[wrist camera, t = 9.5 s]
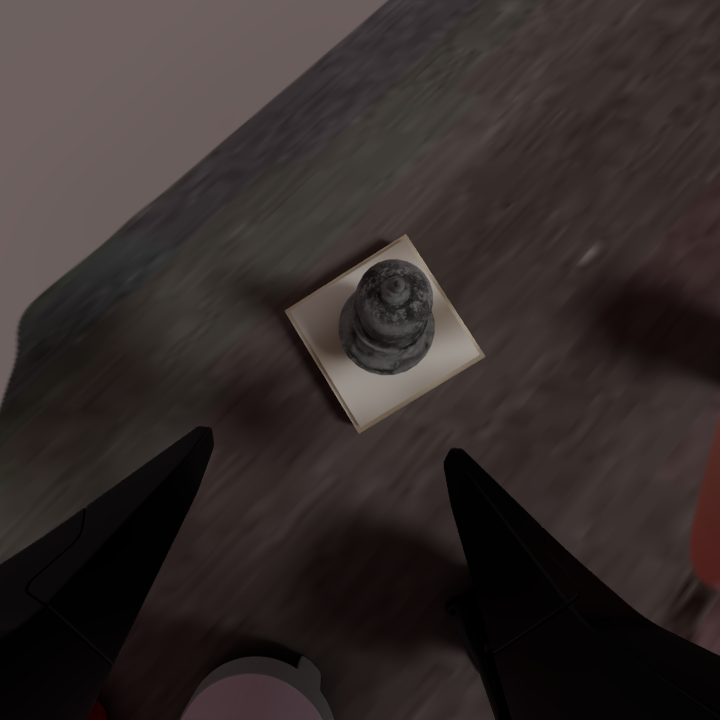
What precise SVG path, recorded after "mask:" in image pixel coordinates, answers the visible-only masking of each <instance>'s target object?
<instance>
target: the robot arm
mask: <svg viewBox="0 0 720 720" xmlns="http://www.w3.org/2000/svg"><path fill="white" fill-rule="evenodd" d="M213 447H214V440H213V434H212V429H211V428H210V427H202V426H199V427H197V428H195V429H194V430H192V431H191V432H189V433H188V434H187V435H185V436H184V437H182V438H181V439H180V440H178V441H177V442H175V443H174V444H173V445H171V446H170V447H168V448H167V449H166V450H164V451H163V452H161V453H160V454H159V455H157V456H156V457H154V458H153V459H152V460H150V461H149V462H147V463H146V464H145V465H143V466H142V467H141V468H139V469H138V470H136V471H135V472H134V473H132V474H131V475H129V476H128V477H127V478H125V479H124V480H122V481H121V482H120V483H118V484H117V485H115V486H114V487H113V488H111V489H110V490H108V491H107V492H106V493H104V494H103V495H101V496H100V497H99V498H97V499H96V500H94V501H93V502H92V503H90V504H89V505H87V507H86V508H83V509H82V510H80V511H79V512H77V513H76V514H75V515H73V516H72V517H70V518H69V519H68V520H66V521H65V522H63V523H62V524H60V525H59V526H58V527H56V528H55V529H53V530H52V531H50V532H49V533H47V534H46V535H45V536H43V537H42V538H40V539H38V540H37V541H35V542H34V543H32V544H31V545H29V546H28V547H26V548H25V549H23V550H22V551H20V552H19V553H17V554H15V555H14V556H12V557H11V558H9V559H8V560H6V561H4V562H3V563H1V564H0V720H86V719H87V717H88V715H89V713H90V711H91V709H92V707H93V705H94V703H95V701H96V699H97V697H98V695H99V693H100V691H101V689H102V687H103V685H104V683H105V681H106V679H107V677H108V674H109V672H110V670H111V668H112V664H113V663H114V662H115V660H116V658H117V656H118V654H119V652H120V650H121V648H122V645H123V643H124V641H125V639H126V637H127V635H128V633H129V631H130V629H131V627H132V625H133V623H134V621H135V619H136V617H137V615H138V613H139V611H140V609H141V607H142V605H143V603H144V601H145V598H146V596H147V594H148V592H149V590H150V588H151V586H152V584H153V582H154V580H155V578H156V576H157V574H158V572H159V570H160V568H161V566H162V564H163V562H164V560H165V558H166V556H167V554H168V551H169V549H170V547H171V545H172V543H173V541H174V539H175V537H176V535H177V533H178V531H179V529H180V527H181V525H182V523H183V521H184V519H185V517H186V515H187V513H188V511H189V509H190V507H191V504H192V502H193V500H194V498H195V496H196V494H197V492H198V489H199V487H200V484H201V481H202V478H203V476H204V473H205V470H206V467H207V465H208V462H209V459H210V456H211V453H212V451H213ZM444 471H445V476H446V482H447V487H448V493H449V499H450V503H451V508H452V511H453V515H454V518H455V522H456V525H457V529H458V532H459V536H460V539H461V543H462V546H463V550H464V553H465V557H466V560H467V564H468V567H469V571H470V574H471V578H472V581H473V585H474V587H473V588H472V589H470V590H468V591H466V592H465V593H463V594H461V595H459V596H458V597H456V598H454V599H453V600H451V601H449V602H448V603H446V605H445V611H446V614H447V616H448V618H449V620H450V621H451V623H452V625H453V626H454V628H455V630H456V631H457V633H458V635H459V636H460V638H461V640H462V641H463V643H464V645H465V646H466V648H467V650H468V651H469V653H470V655H471V656H472V658H473V660H474V661H475V663H476V664H477V667H478V670H479V673H480V676H481V679H482V682H483V685H484V687H485V690H486V693H487V696H488V699H489V702H490V705H491V708H492V711H493V714H494V717H495V720H720V656H719V655H717V654H715V653H713V652H711V651H709V650H707V649H705V648H703V647H701V646H698V645H696V644H694V643H692V642H690V641H688V640H686V639H684V638H682V637H680V636H678V635H676V634H674V633H672V632H670V631H668V630H666V629H664V628H662V627H660V626H658V625H656V624H655V623H653V622H651V621H650V620H648V619H647V618H645V617H644V616H642V615H641V614H640V613H638V612H637V611H636V610H634V609H633V608H632V607H631V606H630V605H628V604H627V603H626V602H625V601H624V600H623V599H622V598H620V597H619V596H618V595H617V594H616V593H615V592H614V591H612V590H611V589H610V588H609V587H608V586H607V585H605V584H604V583H603V582H602V581H601V580H600V579H599V578H597V577H596V576H595V575H594V574H593V573H592V572H591V571H589V570H588V569H587V568H586V567H585V566H584V565H583V564H582V563H580V562H579V561H578V560H577V559H576V558H575V557H574V556H573V555H572V554H570V553H569V552H568V551H567V550H566V549H565V548H564V547H563V546H562V545H561V544H560V543H559V542H558V541H557V540H556V539H554V538H553V537H552V536H551V535H550V534H549V533H548V532H547V531H546V530H545V529H544V528H542V526H541V525H540V524H539V523H538V522H537V521H536V520H535V519H534V518H533V517H532V516H531V515H530V514H529V513H528V512H527V511H526V510H525V509H524V508H523V507H521V506H520V505H519V504H518V503H517V502H516V501H515V500H514V499H513V498H512V497H511V496H510V495H509V494H508V493H507V492H506V491H505V490H504V489H503V488H502V487H501V486H500V485H499V484H498V483H497V482H496V481H495V480H494V479H493V478H492V477H491V476H490V475H489V474H488V473H487V472H486V471H485V470H484V469H483V468H481V467H480V466H479V465H478V464H477V463H476V462H475V461H474V460H473V459H472V458H471V457H470V456H469V455H468V454H467V453H466V452H465V451H464V450H463V449H461V448H451V449H450V451H449V452H448V454H447V456H446V458H445V460H444ZM451 609H454V610H453V611H450V610H451Z"/></svg>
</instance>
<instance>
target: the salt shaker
mask: <svg viewBox="0 0 720 720" xmlns="http://www.w3.org/2000/svg"><path fill="white" fill-rule="evenodd" d="M432 306H433V291H432V288H431V285H430V282H429V280H428V278H427V277H426V275H425V274H424V273H423V272H422V271H421V270H420V269H419V268H418V267H417V266H415V265H413V264H412V263H410V262H408V261H403V260H399V259H388V260H385V261H381V262H378V263H377V264H375V265H373V266H372V267H370V268H369V269H368V270H367V271H366V272H365V273H364V274H363V276H362V278H361V280H360V282H359V283H358V285H357V290H356V291H355V292H354V293H353V294H352V295H351V296H350V297H349V298H348V299H347V301H346V303H345V305H344V306H343V308H342V310H341V314H340V318H339V322H338V326H339V338H340V341H341V345H342V347H343V349H344V351H345V352H346V354H347V356H348V357H349V358H350V359H351V360H352V361H353V362H354V363H355V364H356V365H357V366H358V367H360V368H362V369H364V370H366V371H367V372H370V373H374V374H378V375H395V374H399V373H402V372H406V371H408V370H409V369H411V368H413V367H414V366H416V365H417V364H418V363H419V362H420V361H421V360H422V359H423V358H424V357H425V356H426V354H427V352H428V351H429V349H430V347H431V345H432V342H433V338H434V334H435V320H434V316H433V313H432Z"/></svg>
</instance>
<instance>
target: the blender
mask: <svg viewBox="0 0 720 720" xmlns="http://www.w3.org/2000/svg"><path fill="white" fill-rule="evenodd" d="M320 685H321V673H320V671H319V670H318V668H317V667H316V666H315V665H314V664H313V663H312V662H311V661H310V660H309V659H307V658H306V657H304V656H302V657H301V658H300V660H299V662H298V665H297V667H296V668H295V667H293V666H291V665H289V664H287V663H285V662H282V661H280V660H277V659H273V658H268V657H256V656H253V657H244V658H239V659H235V660H232V661H230V662H227V663H225V664H223V665H221V666H219V667H218V668H216V669H215V670H214V671H212V672H211V673H210V674H209V675H208V676H207V677H206V678H205V679H203V680H202V682H201V683H200V685H199V686H198V687H197V689H196V690H195V692H194V694H193V695H192V697H191V699H190V701H189V703H188V704H187V706H186V708H185V710H184V712H183V714H182V716H181V718H180V720H334V718H333V715H332V712H331V709H330V707H329V705H328V703H327V701H326V699H325V697H324V696H323V694H322V693H321V691H320Z"/></svg>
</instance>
